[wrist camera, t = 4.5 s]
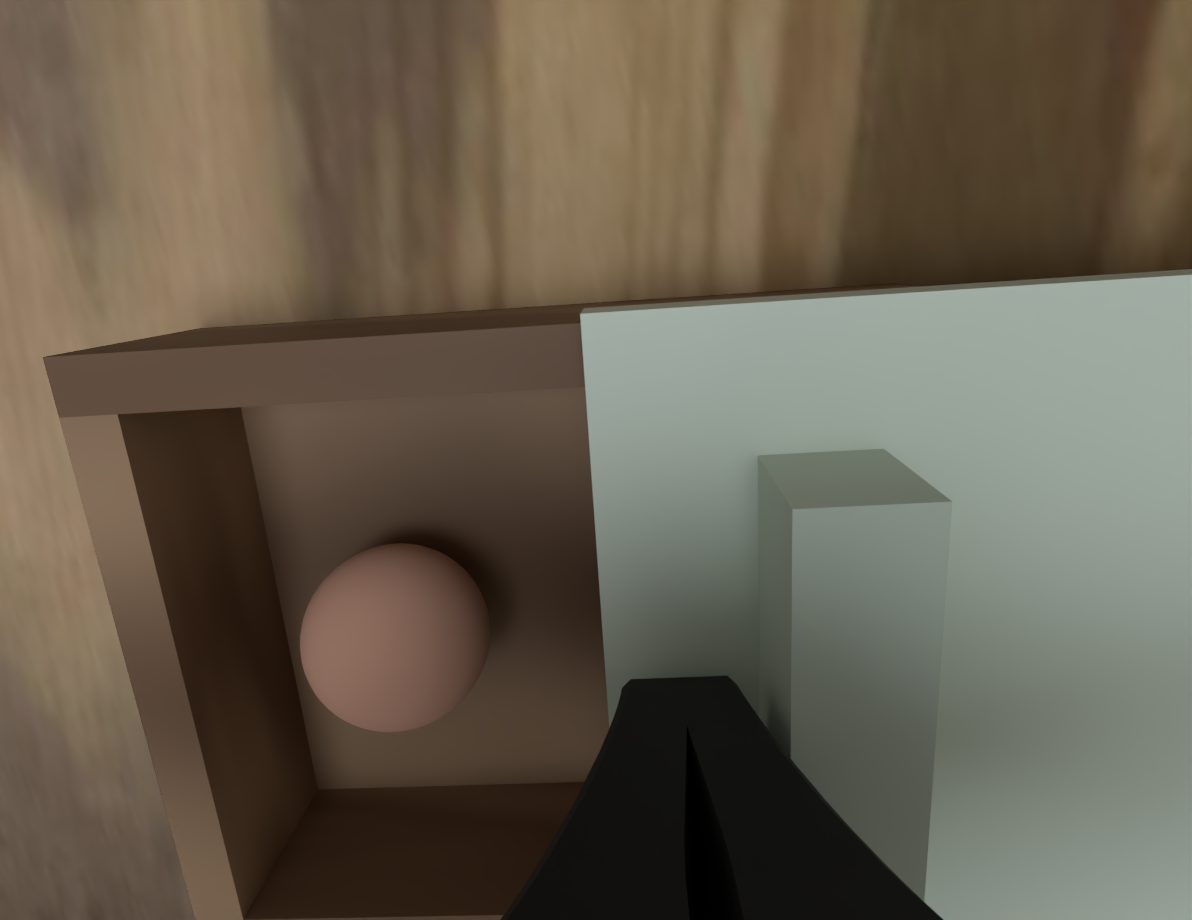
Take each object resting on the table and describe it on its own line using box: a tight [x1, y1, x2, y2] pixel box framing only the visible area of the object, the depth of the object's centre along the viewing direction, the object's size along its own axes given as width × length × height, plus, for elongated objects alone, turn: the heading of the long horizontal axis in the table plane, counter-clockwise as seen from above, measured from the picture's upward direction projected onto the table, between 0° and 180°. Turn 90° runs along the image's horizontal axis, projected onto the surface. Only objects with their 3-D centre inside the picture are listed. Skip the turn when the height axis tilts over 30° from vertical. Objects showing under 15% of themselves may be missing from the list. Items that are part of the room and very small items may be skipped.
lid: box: [580, 269, 1192, 920], centre depth 9 cm, size 10×12×3 cm
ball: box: [300, 543, 490, 732], centre depth 12 cm, size 3×3×3 cm
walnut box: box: [43, 284, 918, 920], centre depth 12 cm, size 10×12×4 cm
